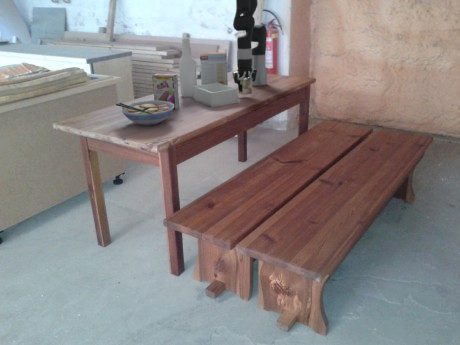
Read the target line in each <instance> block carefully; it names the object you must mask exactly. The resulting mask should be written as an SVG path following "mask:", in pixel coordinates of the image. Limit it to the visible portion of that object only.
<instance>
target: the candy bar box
mask: <svg viewBox="0 0 460 345" xmlns="http://www.w3.org/2000/svg"><path fill="white" fill-rule="evenodd" d="M178 82H179V81H178V75H177V74H175V73H174V74H173V73H171V74H170V73H155V74H154V73H153V74H152V86H153V88H152V90H153V97H154V98H153V101H167V102H171V103H173V104H174V109H173V111H177V110H178V109H179V108H180V98H179V94H180V93H179V83H178Z"/></svg>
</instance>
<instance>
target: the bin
mask: <svg viewBox="0 0 460 345" xmlns="http://www.w3.org/2000/svg"><path fill="white" fill-rule="evenodd" d="M192 98H193V100H194V101H196V102H199V103H200V104H203V105H206V106H208V107H211V108H215V107H220V106H227V105H233V104H237V103H239V90H238V87H237V88H236V87H233V86H230V85H224V84H221V83H211V84H205V85H201V84H200V85H198V84H197V86H193V97H192Z"/></svg>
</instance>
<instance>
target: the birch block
mask: <svg viewBox="0 0 460 345" xmlns="http://www.w3.org/2000/svg"><path fill="white" fill-rule="evenodd" d="M251 94H253V85H252V80H249V79H247V78H244V80H243V81H242V92H240V91H239V90H238V95H241V96H242V95H243V96H247V95H251Z"/></svg>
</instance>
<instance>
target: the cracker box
mask: <svg viewBox="0 0 460 345" xmlns="http://www.w3.org/2000/svg"><path fill="white" fill-rule="evenodd" d="M227 54H228V53H227V52H225V51H224V52H201V53H200V54H199V62H200V65H199V67H200V80H201V84H200V85H205V84H211V83H221V84H224V85H228V84H229V82H228V81H229V80H228V61H227V60H228V58H227V57H228V56H227ZM228 86H229V85H228Z"/></svg>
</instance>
